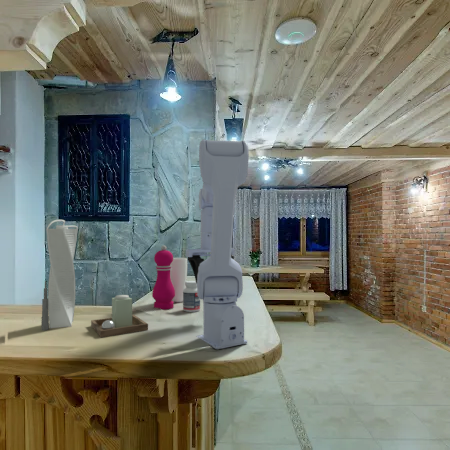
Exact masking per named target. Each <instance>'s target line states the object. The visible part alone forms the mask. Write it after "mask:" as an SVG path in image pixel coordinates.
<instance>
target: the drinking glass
mask: <svg viewBox="0 0 450 450" xmlns="http://www.w3.org/2000/svg"><path fill="white" fill-rule="evenodd" d="M170 265H171V266H172V267H171V268H172V269H171V270H170V278H171V282H172V284H173V287H174V290H175V296H174V298H173V299H172V301H173V302H174V303H183V290H184V289H185V288H186V286H185V282H186V281H188V280H187V279H188V278H187V277H188V257H173V261H172V263H171V264H170Z"/></svg>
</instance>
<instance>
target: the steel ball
mask: <svg viewBox="0 0 450 450" xmlns="http://www.w3.org/2000/svg"><path fill="white" fill-rule="evenodd" d="M113 328H115V324H114V322H113V321H111V320H106V321H105V322H103V324H102V329H103V330H106V329H113Z"/></svg>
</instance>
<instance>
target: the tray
mask: <svg viewBox="0 0 450 450" xmlns="http://www.w3.org/2000/svg"><path fill="white" fill-rule="evenodd" d="M106 320H111V321H112V317H108V318H107V317H106V318H100V319H92V320H91V321H90V327H91V328H92V329H93V330H94V331H95V332H96V334H97V335H98V336H99V337H100V338H106V337H112V336H113V337H114V336H119V335H125V334H132V333H139V332H144V331H148V330H149V323H147V322H146V321H144V320H143V319H141V318H139V317H138V316H136V314H132V326H126V327H119V328H113V329H106V330H103V329H102V324H103V322H105V321H106Z"/></svg>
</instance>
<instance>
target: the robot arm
mask: <svg viewBox="0 0 450 450" xmlns="http://www.w3.org/2000/svg"><path fill="white" fill-rule="evenodd" d="M249 159H250V156H249V145H248V144H247V142H246V141H245V140H241V141H239V140H217V139H216V140H212V139H211V140H210V139H205V138H204V139H201V141H200V142H199V149H198V163H199V164H198V166H199V168H200V169H199V172H200V177H201V180H202V182H203V183H202V188H200V189H199V194H198V207H199V210H200V248H191V249H190V248H189V249H185V258H187V262H188V264H189V265H190V266H191V269H192V271H193V275H194V279H195V280H194V281H196V283H197V294H198V297H199V298H200V300H202V301H203V317H202V319H203V321H202V322H203V325H202V326H203V329H202V330H203V332H202V333H203V334H200V335H196V336H195V337H197V338H198V339H200V340H202V341H204V342H205V343H206V344H208V346H210V347H211V348H213V349H215V350H220V349H226V348H230V347H235V346H240V345H244V344H248V340H246V339H245V315H244V311H243V310H242V308H241V307H240V306H238V305H237V303H236V302H238V299H240V298H241V297H242V295H243V289H244V288H243V287H244V285H243V282H244V281H243V269H242V267H241V265H240V263H239V262H237V261H236V260H235V257H234V256H235V254H236V252H235V251H236V249H235V248H234V247H232V246H233V234H234V220H235V219H234V218H235V204H236V195H237V192H238V189H239V187H240V186H241V185H243V184H245V183H246V181H247V177H248V171H249V169H248V168H249ZM203 257H207V258H206V259H205V258H203Z"/></svg>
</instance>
